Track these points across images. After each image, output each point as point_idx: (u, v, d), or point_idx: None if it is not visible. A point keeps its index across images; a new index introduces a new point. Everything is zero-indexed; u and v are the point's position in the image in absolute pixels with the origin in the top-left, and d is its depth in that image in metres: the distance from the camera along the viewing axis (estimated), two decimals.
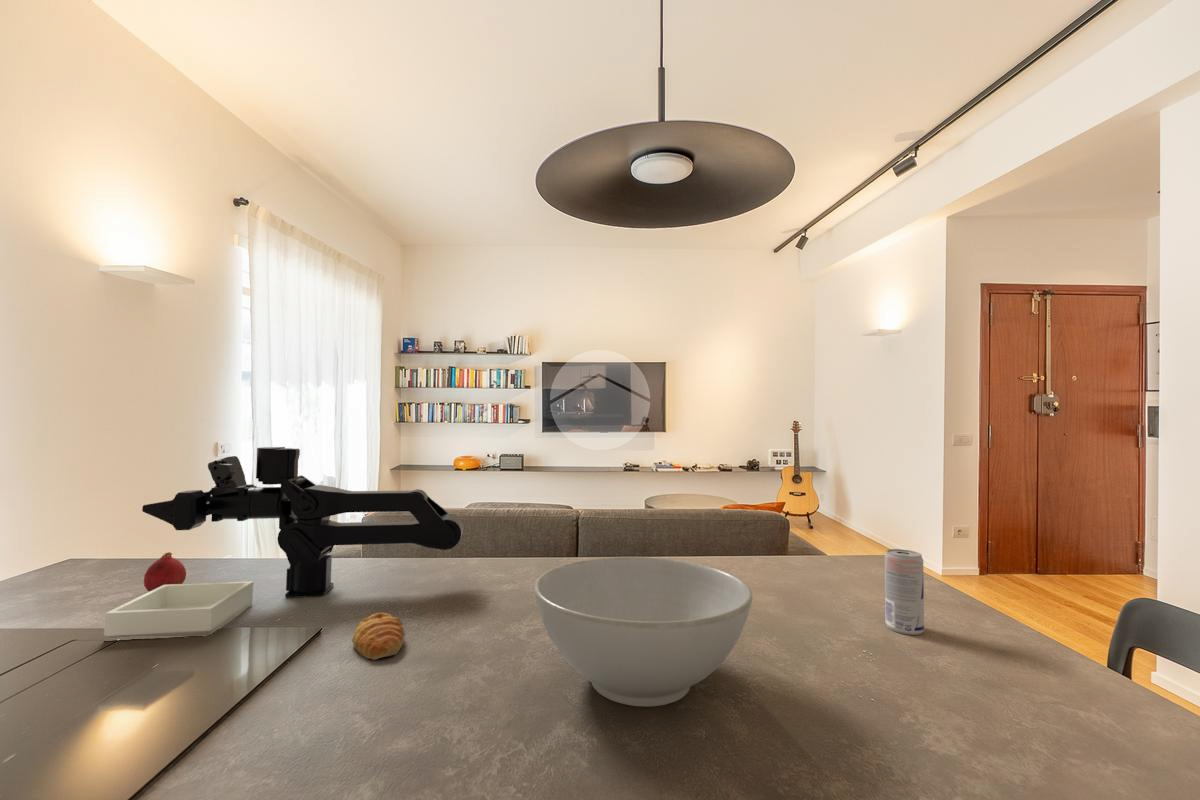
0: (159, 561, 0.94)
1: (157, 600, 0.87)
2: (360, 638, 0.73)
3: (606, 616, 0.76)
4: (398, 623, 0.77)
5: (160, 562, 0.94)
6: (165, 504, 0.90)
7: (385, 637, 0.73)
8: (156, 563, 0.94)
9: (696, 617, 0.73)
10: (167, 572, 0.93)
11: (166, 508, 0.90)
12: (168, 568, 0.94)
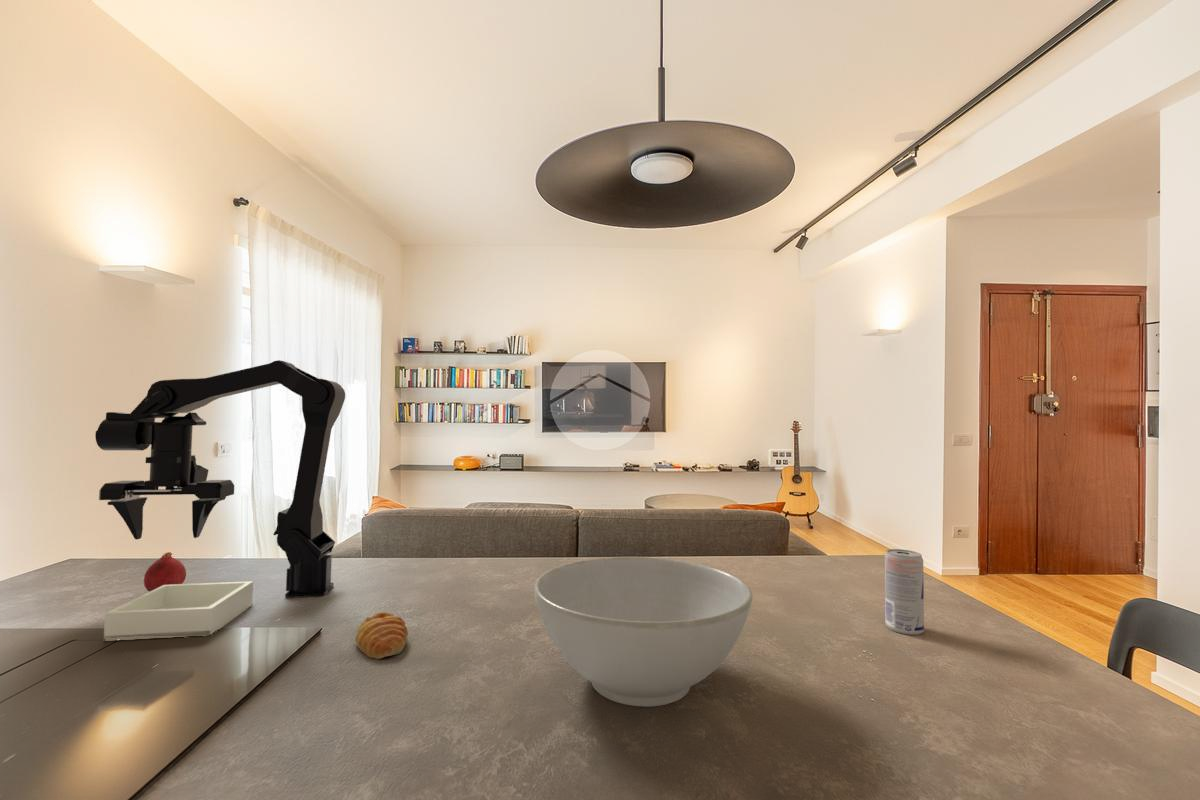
0: (159, 561, 0.94)
1: (157, 600, 0.87)
2: (364, 638, 0.74)
3: (606, 616, 0.76)
4: (401, 622, 0.77)
5: (160, 562, 0.94)
6: None
7: (388, 637, 0.73)
8: (156, 563, 0.94)
9: (696, 617, 0.73)
10: (167, 572, 0.93)
11: None
12: (168, 568, 0.94)
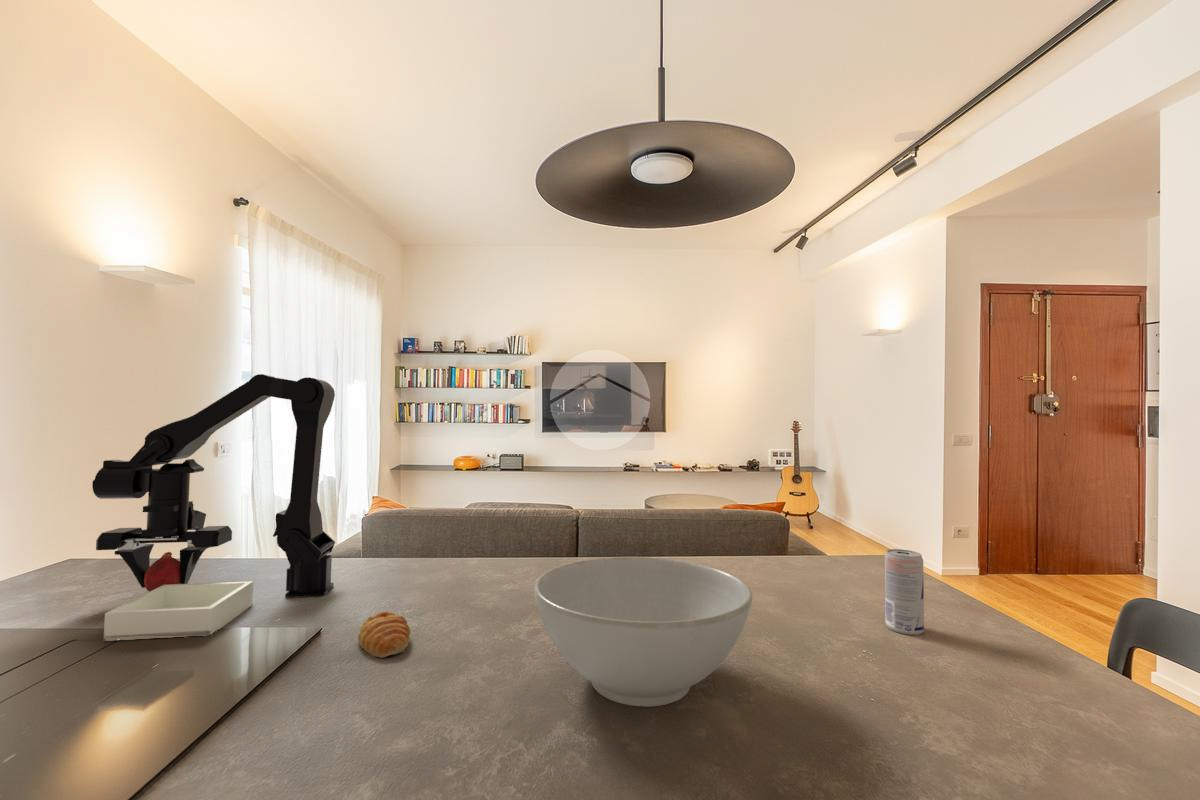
0: (159, 561, 0.94)
1: (157, 600, 0.87)
2: (367, 637, 0.74)
3: (606, 616, 0.76)
4: (404, 621, 0.78)
5: (160, 562, 0.94)
6: None
7: (392, 635, 0.73)
8: (156, 563, 0.94)
9: (696, 617, 0.73)
10: (167, 572, 0.93)
11: None
12: (168, 568, 0.94)
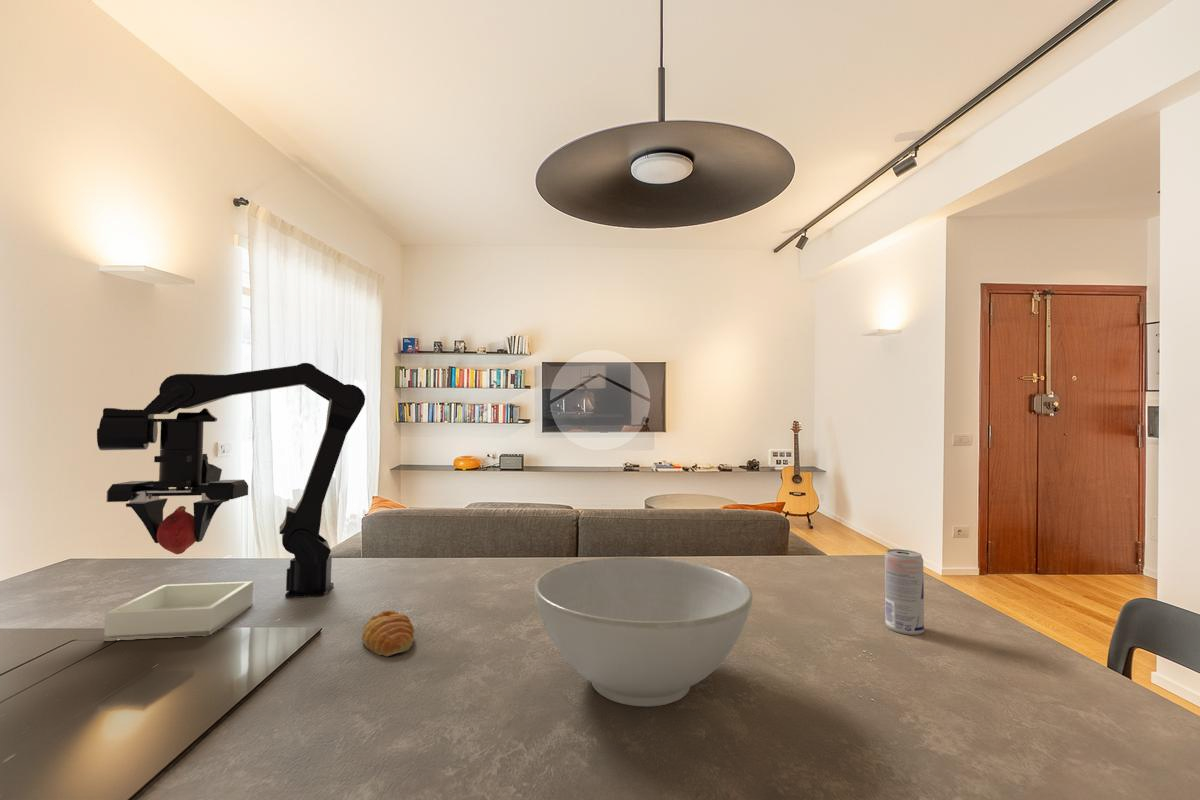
0: (172, 515, 0.88)
1: (157, 600, 0.87)
2: (372, 636, 0.74)
3: (606, 616, 0.76)
4: (407, 620, 0.78)
5: (173, 515, 0.88)
6: None
7: (397, 634, 0.74)
8: (169, 517, 0.88)
9: (696, 617, 0.73)
10: (180, 526, 0.88)
11: None
12: (182, 522, 0.88)
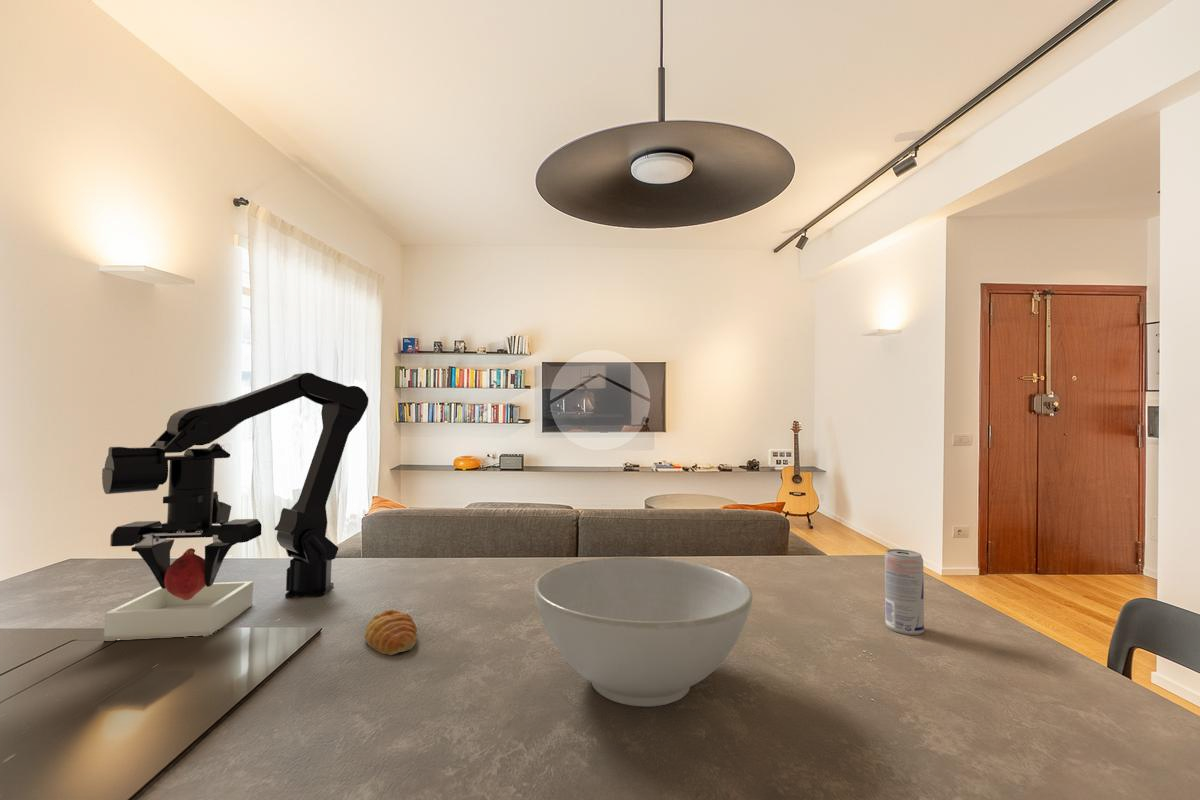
0: (181, 558, 0.83)
1: (157, 600, 0.87)
2: (375, 635, 0.75)
3: (606, 616, 0.76)
4: (410, 619, 0.79)
5: (182, 559, 0.83)
6: None
7: (400, 633, 0.74)
8: (178, 561, 0.83)
9: (696, 617, 0.73)
10: (190, 571, 0.82)
11: None
12: (191, 567, 0.83)
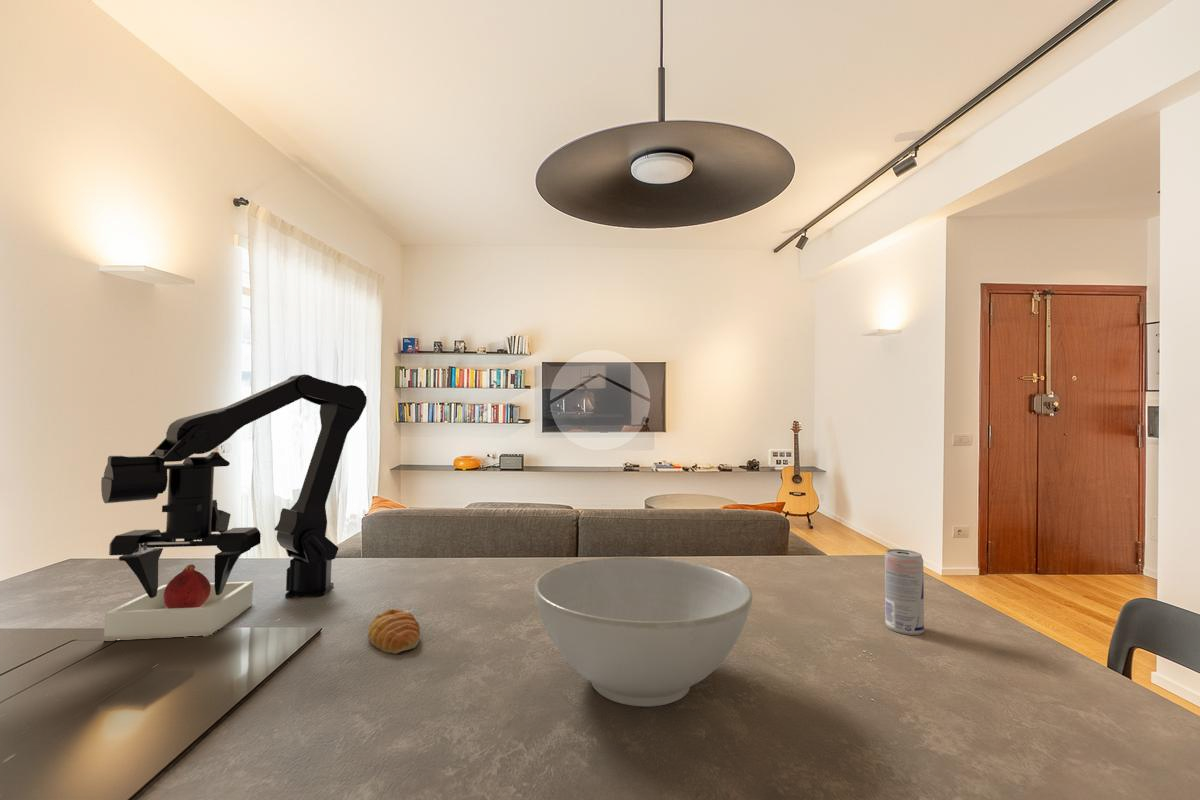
0: (181, 575, 0.83)
1: (157, 600, 0.87)
2: (379, 634, 0.75)
3: (606, 616, 0.76)
4: (413, 618, 0.79)
5: (182, 576, 0.83)
6: None
7: (404, 632, 0.75)
8: (178, 577, 0.83)
9: (696, 617, 0.73)
10: (190, 588, 0.82)
11: None
12: (191, 584, 0.83)
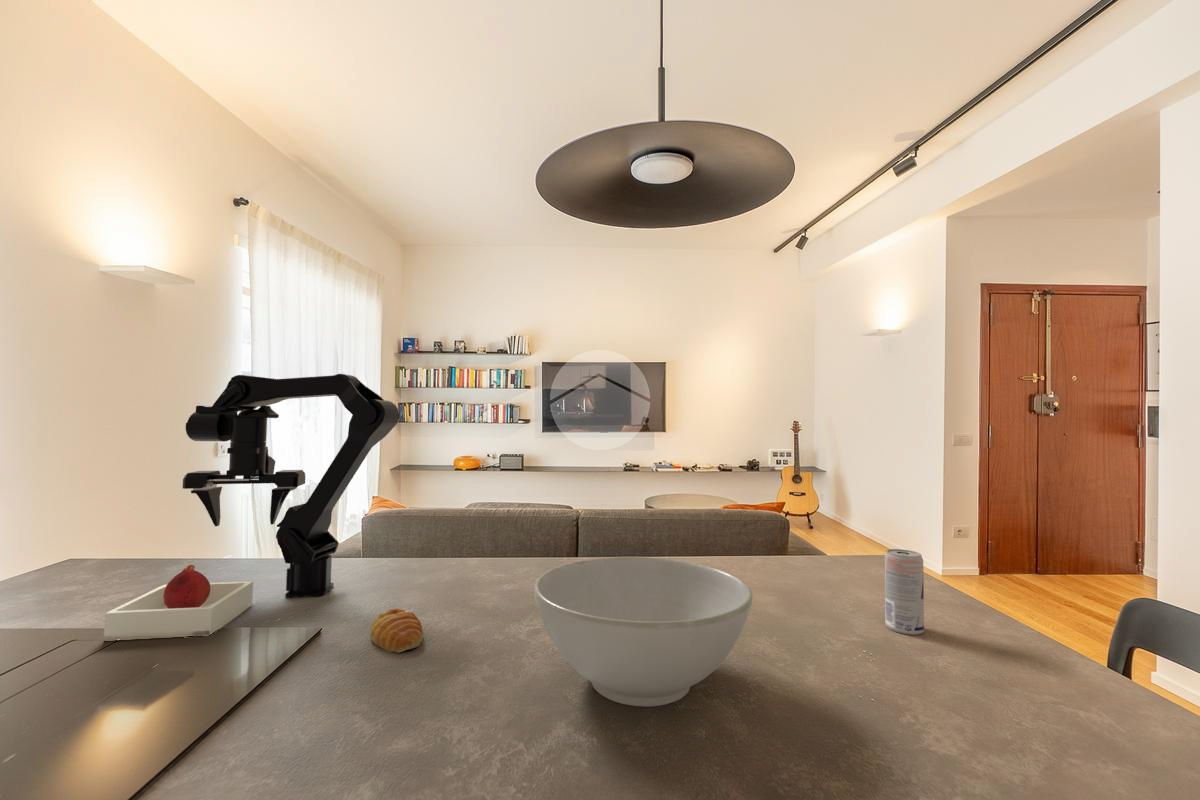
0: (180, 575, 0.83)
1: (157, 600, 0.87)
2: (382, 633, 0.75)
3: (606, 616, 0.76)
4: (415, 617, 0.79)
5: (181, 576, 0.83)
6: None
7: (407, 631, 0.75)
8: (177, 577, 0.83)
9: (696, 617, 0.73)
10: (189, 587, 0.82)
11: None
12: (191, 583, 0.83)
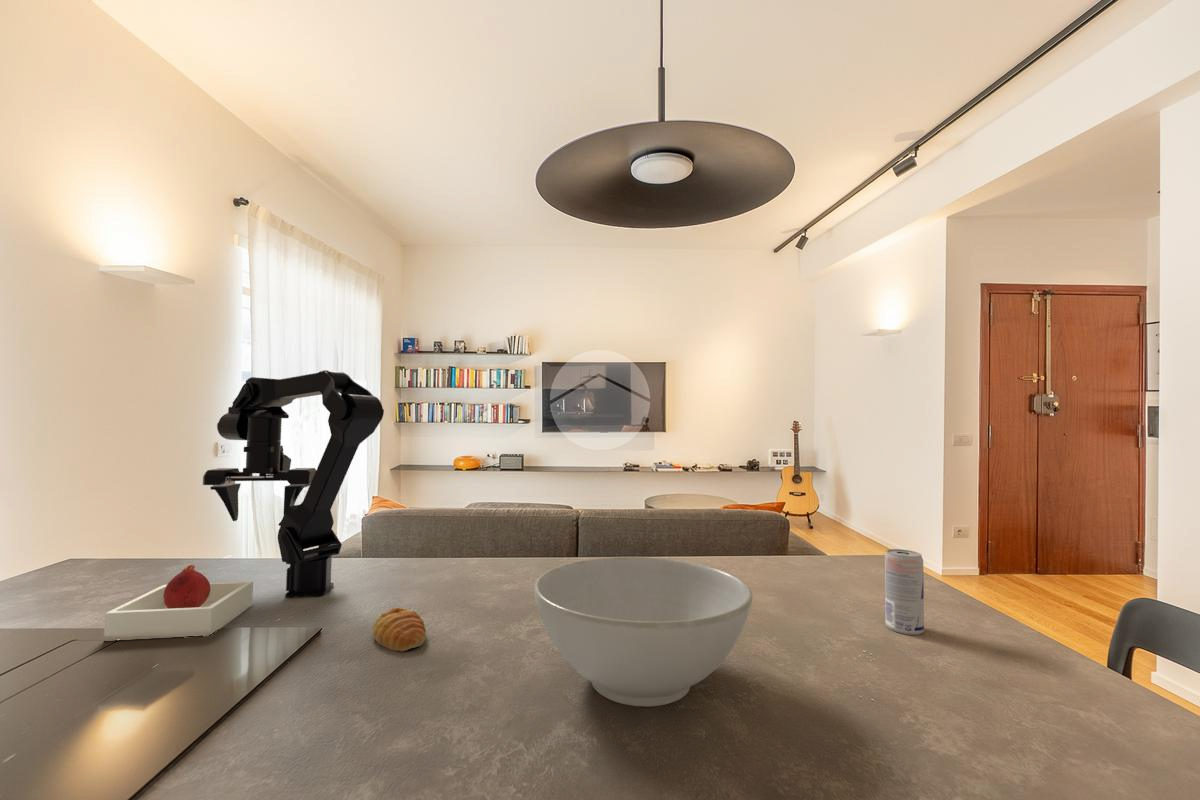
0: (180, 575, 0.83)
1: (157, 600, 0.87)
2: (385, 632, 0.76)
3: (606, 616, 0.76)
4: (418, 616, 0.80)
5: (181, 576, 0.83)
6: None
7: (411, 630, 0.76)
8: (177, 577, 0.83)
9: (696, 617, 0.73)
10: (189, 587, 0.82)
11: None
12: (191, 583, 0.83)
